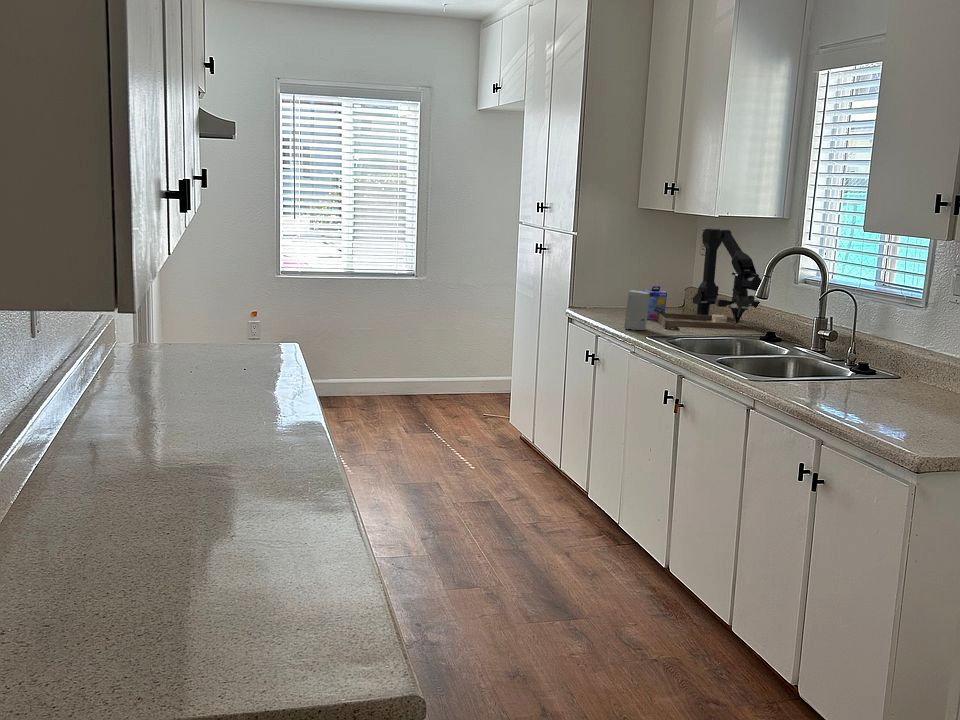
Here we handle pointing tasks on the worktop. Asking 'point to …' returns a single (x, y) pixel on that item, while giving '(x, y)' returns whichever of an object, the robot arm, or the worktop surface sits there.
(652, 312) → the ink cartridge box
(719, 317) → the maple block
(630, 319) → the skincare box
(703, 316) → the trap box
